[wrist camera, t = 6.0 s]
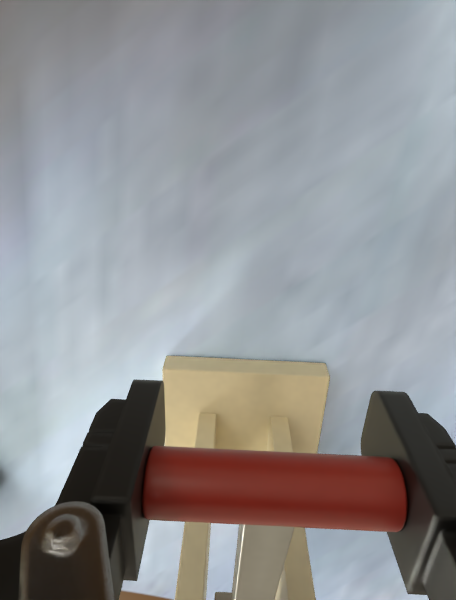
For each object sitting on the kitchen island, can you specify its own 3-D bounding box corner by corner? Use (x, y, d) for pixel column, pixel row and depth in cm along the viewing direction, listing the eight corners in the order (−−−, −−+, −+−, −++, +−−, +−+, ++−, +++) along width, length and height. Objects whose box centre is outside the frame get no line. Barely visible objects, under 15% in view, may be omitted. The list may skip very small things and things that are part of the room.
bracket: (166, 354, 24) (92, 610, 12) (325, 362, 24) (413, 626, 12) (169, 483, 28) (117, 767, 16) (305, 489, 28) (354, 779, 16)
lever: (155, 413, 10) (132, 523, 8) (388, 424, 9) (424, 537, 8) (177, 614, 17) (169, 693, 16) (304, 621, 17) (311, 700, 16)
